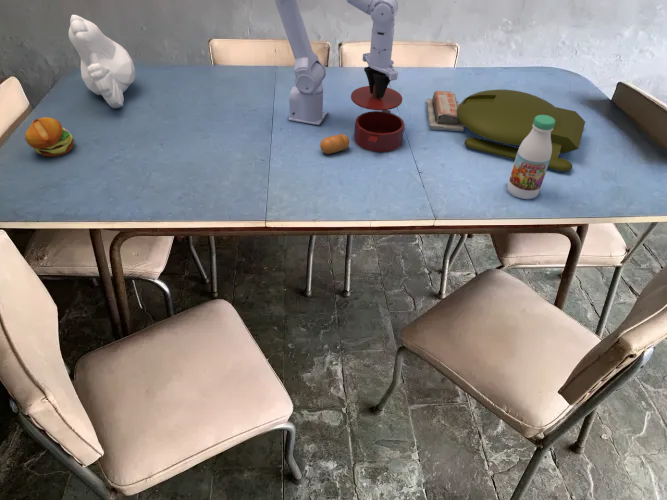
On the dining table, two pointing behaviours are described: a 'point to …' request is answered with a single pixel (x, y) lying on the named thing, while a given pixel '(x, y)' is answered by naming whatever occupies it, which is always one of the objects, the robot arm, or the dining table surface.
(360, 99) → the pot lid
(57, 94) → the dining table surface
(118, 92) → the white rounded figure
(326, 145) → the bread roll
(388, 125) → the pot
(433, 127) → the packaged product
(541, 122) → the milk bottle
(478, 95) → the spaceship
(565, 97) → the dining table surface
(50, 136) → the cheeseburger
